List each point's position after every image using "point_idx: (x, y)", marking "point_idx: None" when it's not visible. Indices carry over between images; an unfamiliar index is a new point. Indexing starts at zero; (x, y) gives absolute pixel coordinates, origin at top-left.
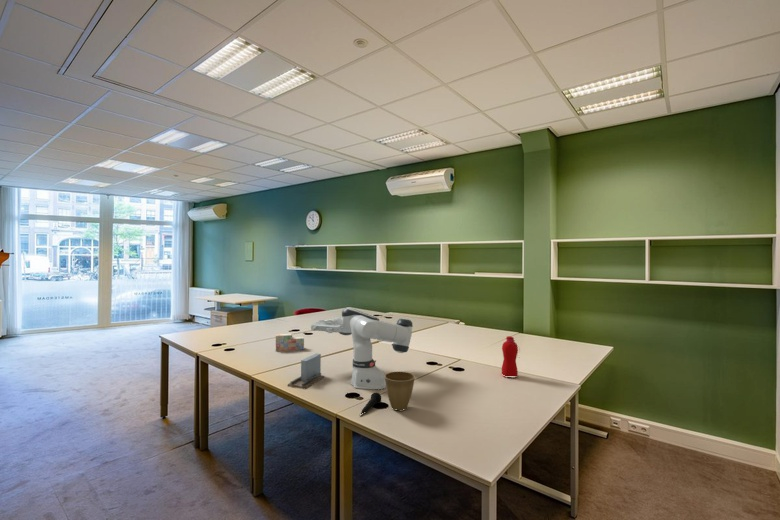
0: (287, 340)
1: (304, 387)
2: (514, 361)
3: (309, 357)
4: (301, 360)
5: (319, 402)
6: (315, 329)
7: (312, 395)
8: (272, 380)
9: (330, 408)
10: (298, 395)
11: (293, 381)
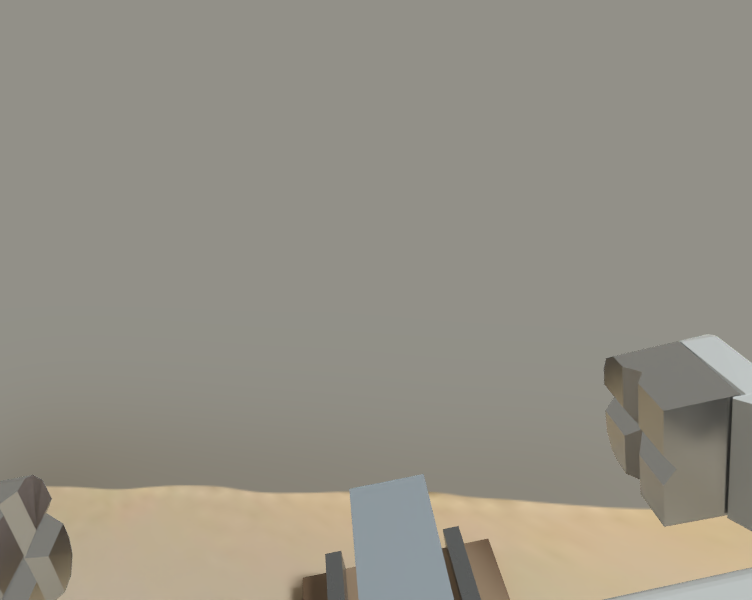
0: None
1: (318, 580)
2: None
3: (421, 597)
4: (418, 475)
5: (101, 504)
6: (645, 446)
7: (189, 541)
8: (736, 555)
9: None
10: (283, 497)
11: (448, 549)
